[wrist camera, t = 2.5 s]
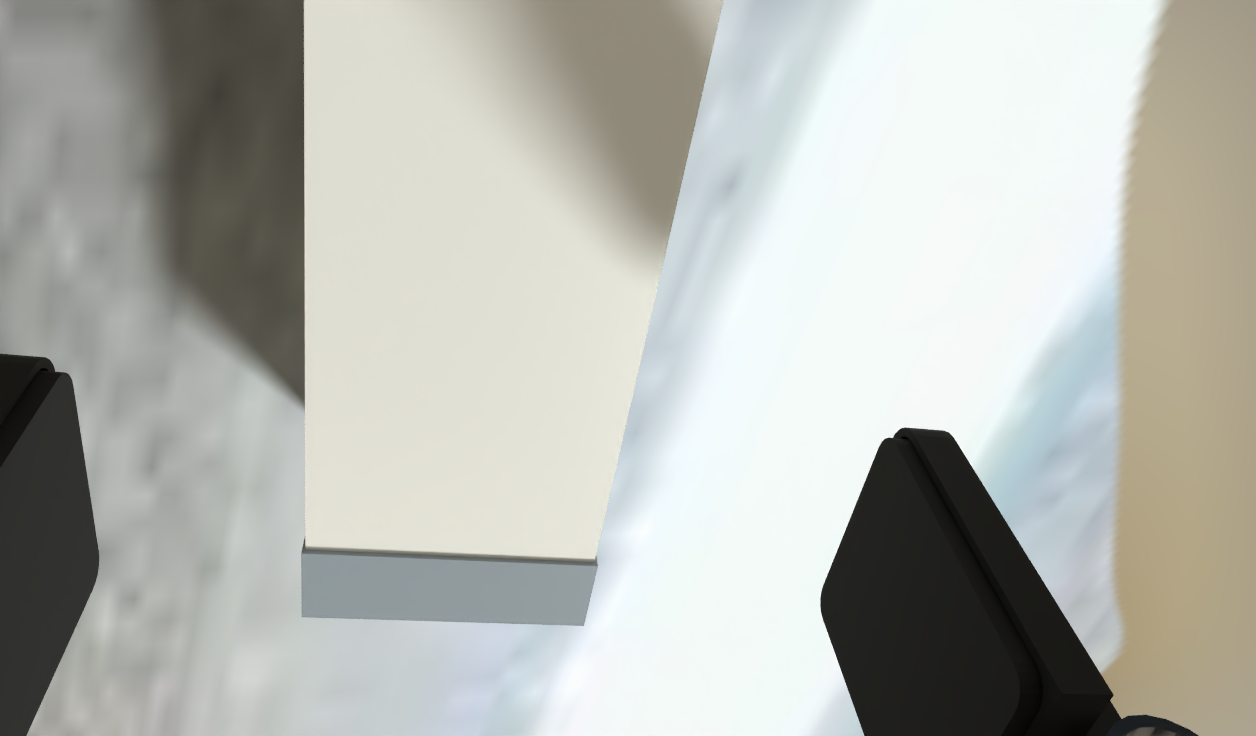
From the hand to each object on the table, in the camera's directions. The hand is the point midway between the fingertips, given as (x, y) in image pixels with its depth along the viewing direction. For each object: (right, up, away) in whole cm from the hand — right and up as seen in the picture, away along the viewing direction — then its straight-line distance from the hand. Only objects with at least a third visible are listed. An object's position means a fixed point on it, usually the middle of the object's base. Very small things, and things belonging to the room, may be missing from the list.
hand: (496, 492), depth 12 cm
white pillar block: (-1, +5, +7) cm, 9 cm away
